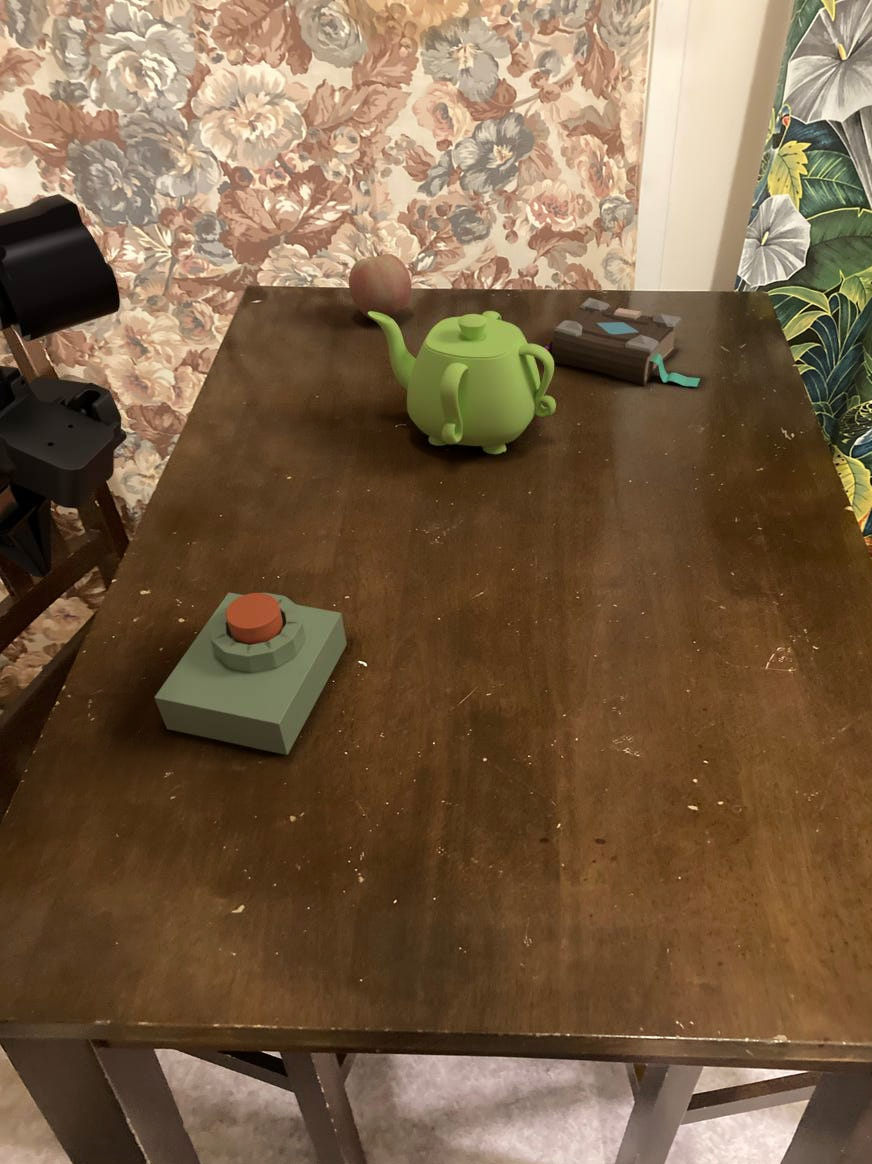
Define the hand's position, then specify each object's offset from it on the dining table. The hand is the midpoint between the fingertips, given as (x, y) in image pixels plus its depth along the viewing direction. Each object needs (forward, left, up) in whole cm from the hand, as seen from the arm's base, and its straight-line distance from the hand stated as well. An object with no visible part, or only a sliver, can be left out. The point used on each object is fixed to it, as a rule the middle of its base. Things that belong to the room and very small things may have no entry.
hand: (42, 573), depth 62 cm
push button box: (+8, -10, -12) cm, 18 cm away
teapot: (+48, -1, -13) cm, 50 cm away
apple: (+64, +24, -13) cm, 69 cm away
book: (+72, -8, -13) cm, 74 cm away
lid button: (+9, -9, -7) cm, 15 cm away
